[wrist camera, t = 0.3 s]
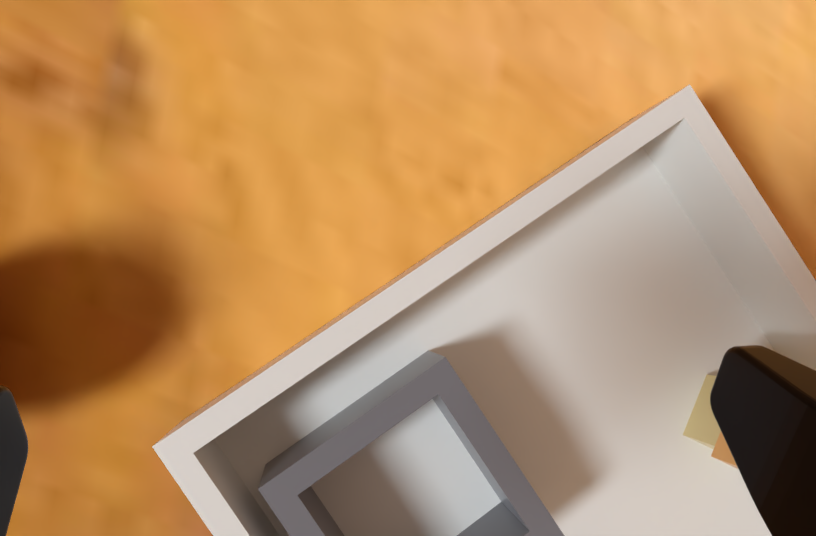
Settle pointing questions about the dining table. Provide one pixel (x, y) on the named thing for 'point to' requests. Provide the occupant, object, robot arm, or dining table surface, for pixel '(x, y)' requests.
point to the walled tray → (525, 365)
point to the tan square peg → (708, 425)
